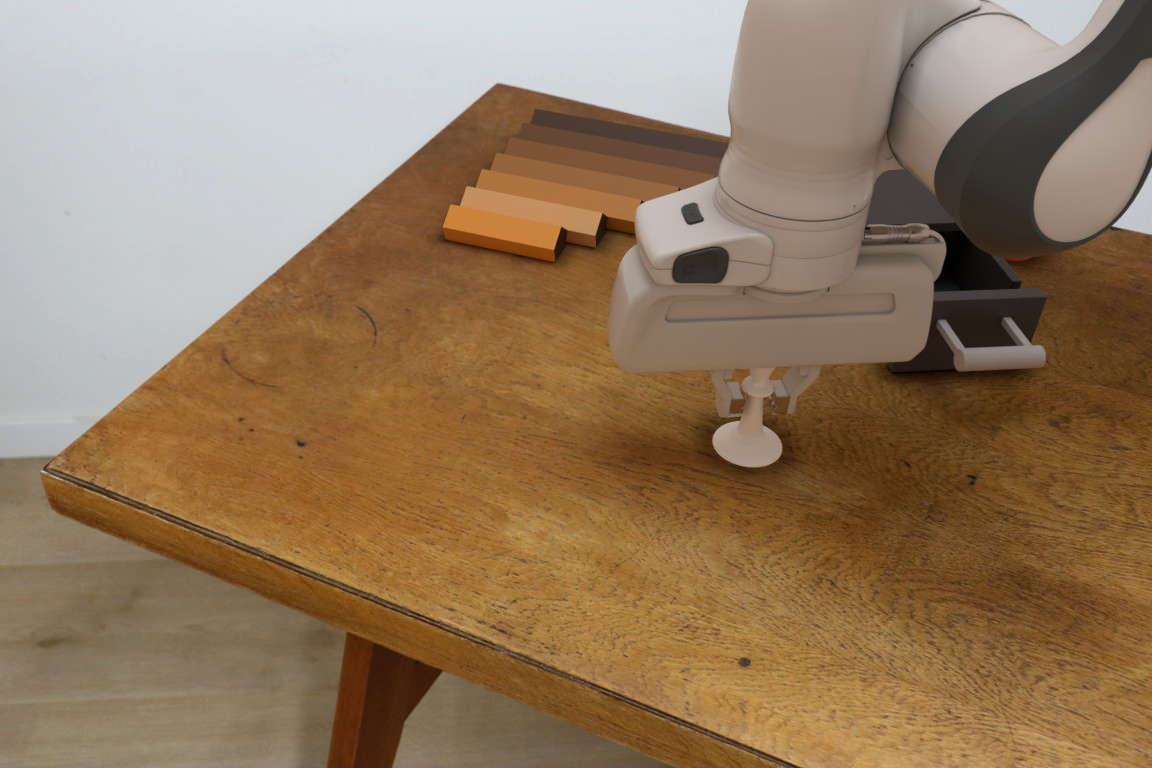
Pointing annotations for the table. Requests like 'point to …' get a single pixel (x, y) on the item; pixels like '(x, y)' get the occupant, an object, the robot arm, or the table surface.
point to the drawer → (979, 315)
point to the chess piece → (750, 427)
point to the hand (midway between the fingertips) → (753, 410)
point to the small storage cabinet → (906, 203)
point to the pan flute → (575, 183)
